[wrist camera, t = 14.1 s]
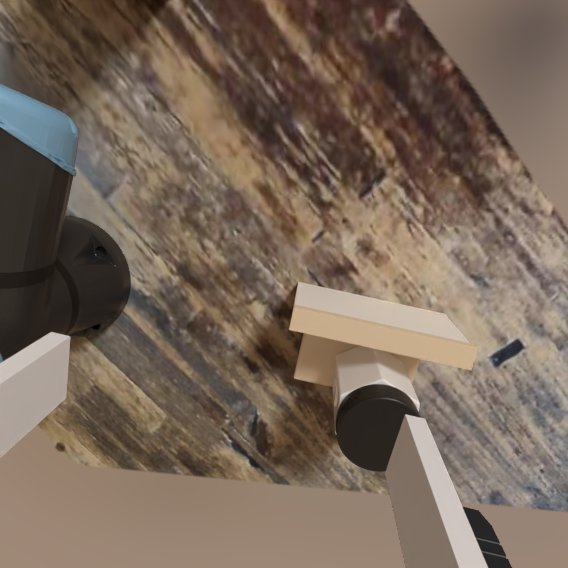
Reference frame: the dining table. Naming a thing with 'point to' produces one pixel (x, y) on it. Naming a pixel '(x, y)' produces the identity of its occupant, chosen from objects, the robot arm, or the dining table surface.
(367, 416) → the jar
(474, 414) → the dining table surface
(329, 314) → the cleat board
